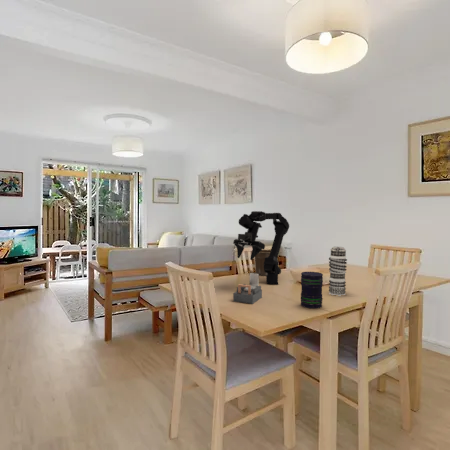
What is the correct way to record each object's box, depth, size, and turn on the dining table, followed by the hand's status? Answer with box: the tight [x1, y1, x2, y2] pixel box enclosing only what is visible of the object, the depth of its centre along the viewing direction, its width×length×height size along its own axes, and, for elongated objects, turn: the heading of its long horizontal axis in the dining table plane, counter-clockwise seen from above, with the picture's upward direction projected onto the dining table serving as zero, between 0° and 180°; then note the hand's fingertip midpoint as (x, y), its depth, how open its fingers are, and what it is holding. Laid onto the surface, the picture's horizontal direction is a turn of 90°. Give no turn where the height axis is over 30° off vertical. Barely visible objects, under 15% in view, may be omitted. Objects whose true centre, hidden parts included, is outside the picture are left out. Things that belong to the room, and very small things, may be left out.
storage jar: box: [300, 271, 324, 309], centre depth 153 cm, size 10×10×15 cm
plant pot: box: [254, 249, 271, 277], centre depth 227 cm, size 16×16×16 cm
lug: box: [237, 283, 251, 294], centre depth 159 cm, size 1×6×4 cm, turn 64°
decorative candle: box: [328, 246, 348, 297], centre depth 174 cm, size 9×9×25 cm
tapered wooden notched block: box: [244, 272, 260, 291], centre depth 166 cm, size 10×4×7 cm, turn 154°
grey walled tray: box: [232, 283, 263, 305], centre depth 163 cm, size 13×10×6 cm
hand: (244, 258), depth 180 cm, fingers open, 9 cm apart
